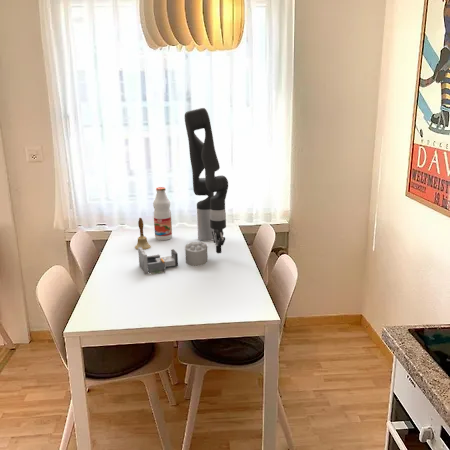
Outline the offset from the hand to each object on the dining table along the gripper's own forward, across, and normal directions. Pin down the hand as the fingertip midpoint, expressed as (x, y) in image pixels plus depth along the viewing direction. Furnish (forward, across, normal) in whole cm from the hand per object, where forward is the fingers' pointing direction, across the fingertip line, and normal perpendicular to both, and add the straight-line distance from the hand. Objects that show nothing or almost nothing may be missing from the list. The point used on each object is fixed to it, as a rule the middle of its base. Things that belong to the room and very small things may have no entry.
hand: (218, 252), depth 239 cm
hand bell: (+3, +31, +31) cm, 44 cm away
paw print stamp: (+3, 0, +11) cm, 12 cm away
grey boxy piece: (+2, -2, +26) cm, 26 cm away
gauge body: (+3, -1, +33) cm, 33 cm away
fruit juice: (+3, +42, +17) cm, 45 cm away
